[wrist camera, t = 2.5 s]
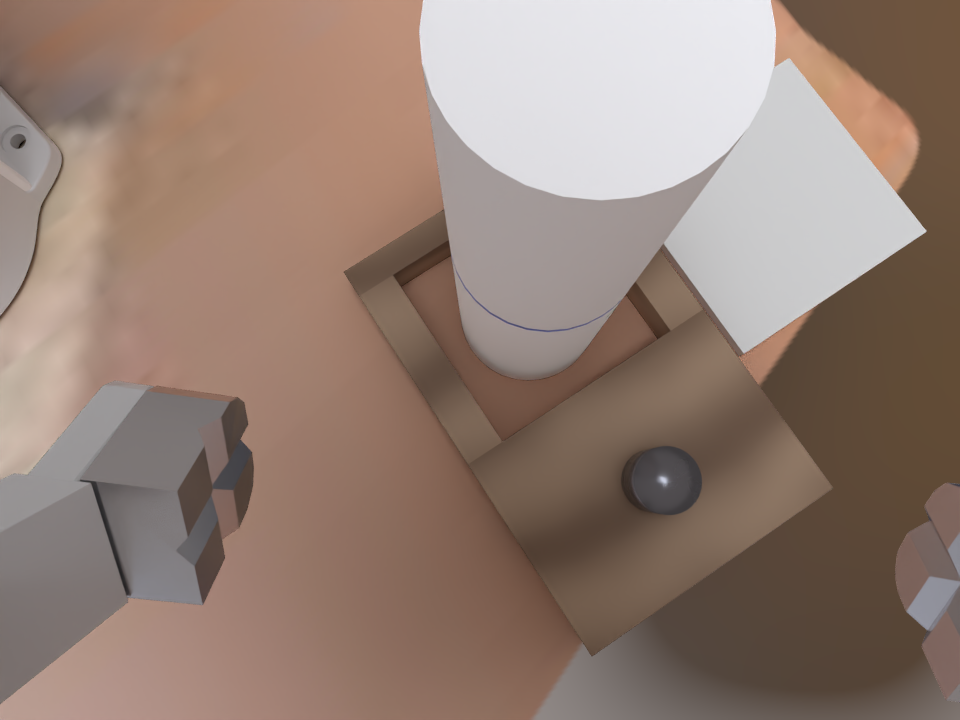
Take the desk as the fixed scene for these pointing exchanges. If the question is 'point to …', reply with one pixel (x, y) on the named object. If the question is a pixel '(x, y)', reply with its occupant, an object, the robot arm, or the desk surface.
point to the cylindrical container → (577, 151)
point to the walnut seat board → (615, 450)
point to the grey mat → (786, 217)
